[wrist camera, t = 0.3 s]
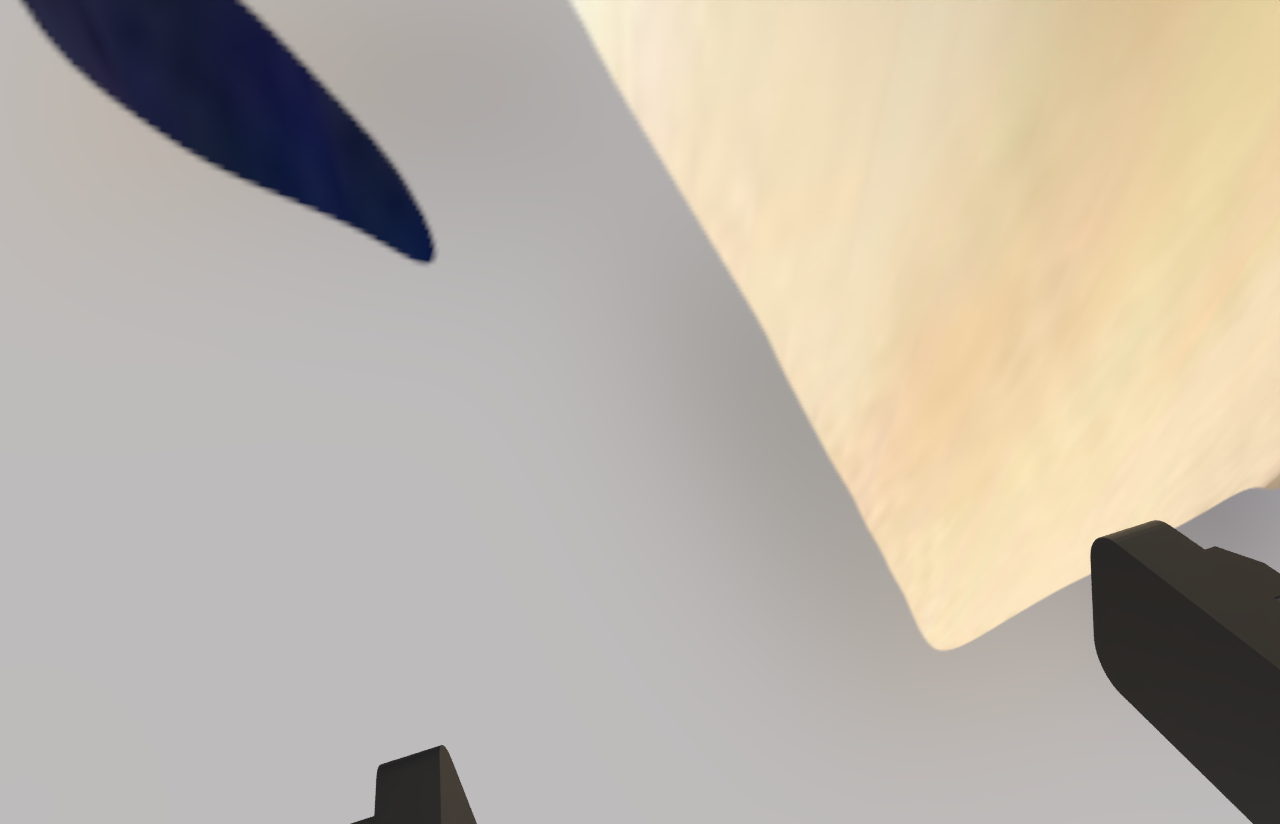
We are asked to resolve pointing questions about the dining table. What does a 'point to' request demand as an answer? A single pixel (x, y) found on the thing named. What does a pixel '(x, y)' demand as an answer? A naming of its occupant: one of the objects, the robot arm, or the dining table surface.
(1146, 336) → the dining table surface
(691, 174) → the dining table surface
